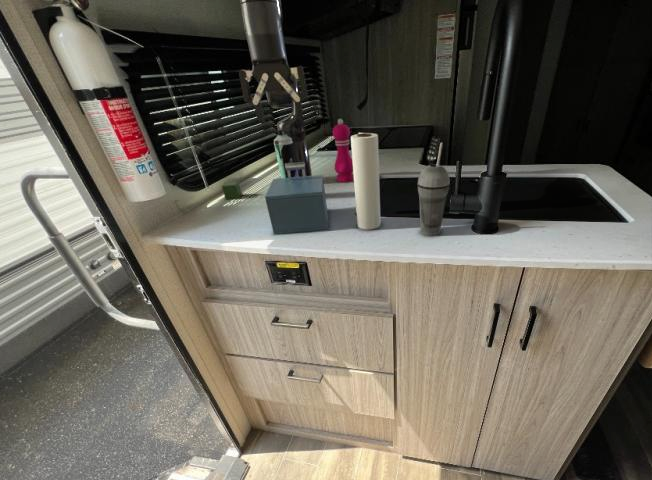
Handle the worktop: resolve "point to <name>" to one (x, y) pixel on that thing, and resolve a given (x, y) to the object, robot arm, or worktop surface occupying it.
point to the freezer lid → (295, 184)
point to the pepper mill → (343, 153)
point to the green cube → (232, 190)
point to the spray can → (285, 153)
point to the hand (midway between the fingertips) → (281, 121)
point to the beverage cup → (432, 196)
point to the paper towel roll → (366, 179)
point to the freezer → (298, 214)
